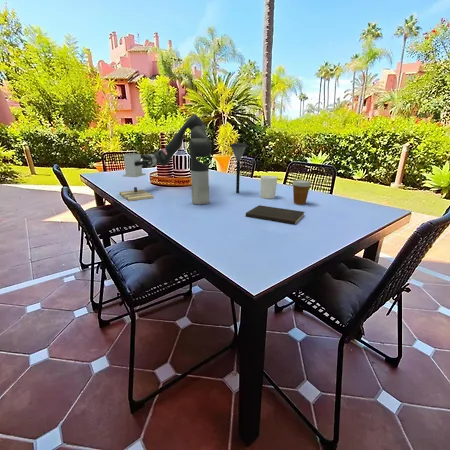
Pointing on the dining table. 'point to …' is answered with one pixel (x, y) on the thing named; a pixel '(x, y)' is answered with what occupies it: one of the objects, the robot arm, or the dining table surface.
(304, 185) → the disposable coffee cup
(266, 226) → the dining table surface
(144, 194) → the base plate
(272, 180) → the white paper cup
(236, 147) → the solar garden light
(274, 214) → the hardcover book
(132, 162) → the sleeve
